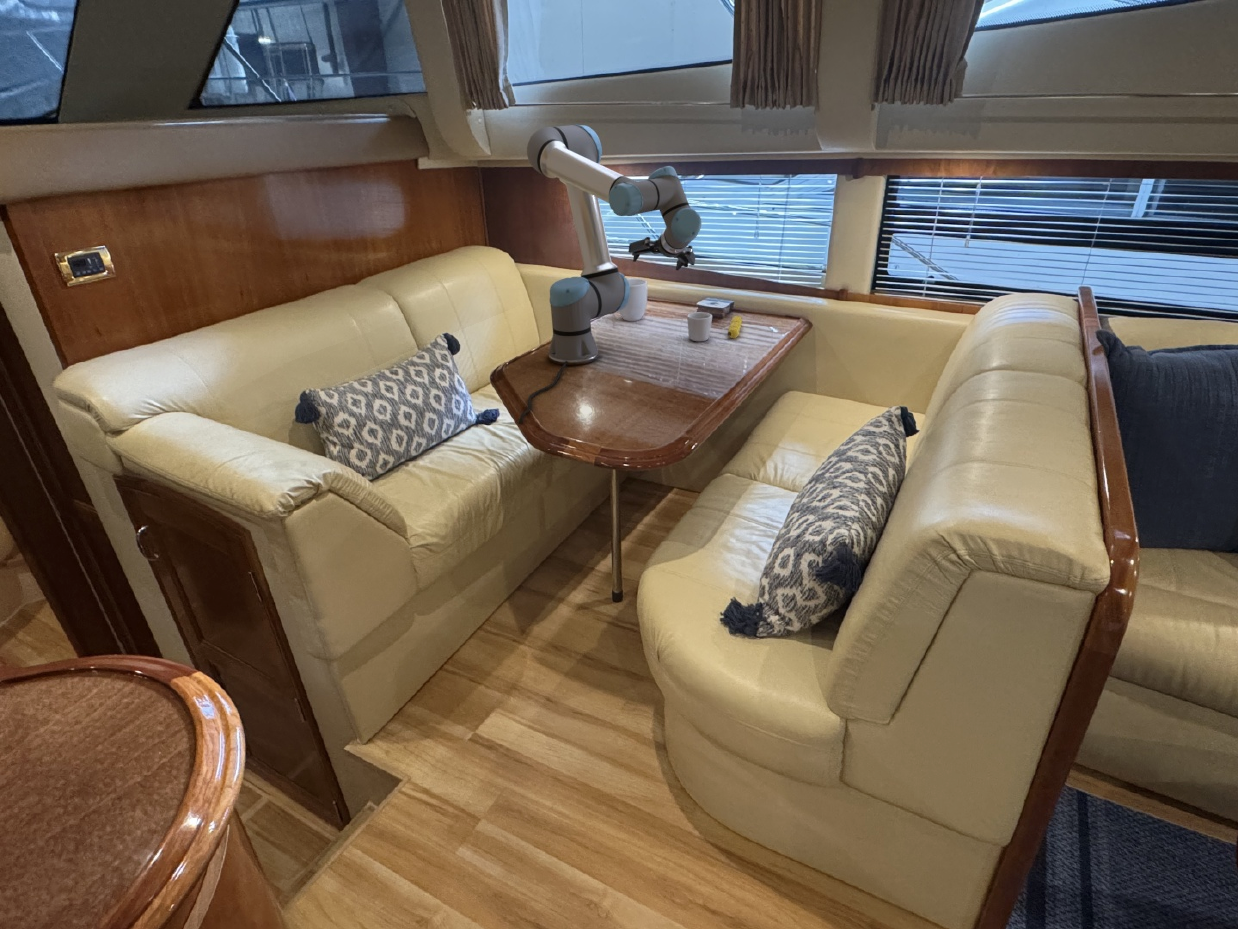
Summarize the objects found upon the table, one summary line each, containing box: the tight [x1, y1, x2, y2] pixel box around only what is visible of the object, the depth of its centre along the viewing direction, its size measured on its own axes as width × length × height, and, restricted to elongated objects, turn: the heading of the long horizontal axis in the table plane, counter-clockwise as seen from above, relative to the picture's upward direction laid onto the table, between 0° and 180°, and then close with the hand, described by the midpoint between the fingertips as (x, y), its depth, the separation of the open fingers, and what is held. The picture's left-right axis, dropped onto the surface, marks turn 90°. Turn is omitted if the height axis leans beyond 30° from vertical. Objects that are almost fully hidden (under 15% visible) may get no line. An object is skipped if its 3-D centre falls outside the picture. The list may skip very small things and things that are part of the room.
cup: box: [686, 311, 713, 342], centre depth 215 cm, size 11×8×8 cm
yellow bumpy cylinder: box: [726, 315, 743, 339], centre depth 221 cm, size 17×4×4 cm, turn 166°
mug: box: [617, 277, 648, 322], centre depth 237 cm, size 15×11×13 cm
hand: (656, 261), depth 204 cm, fingers open, 13 cm apart
